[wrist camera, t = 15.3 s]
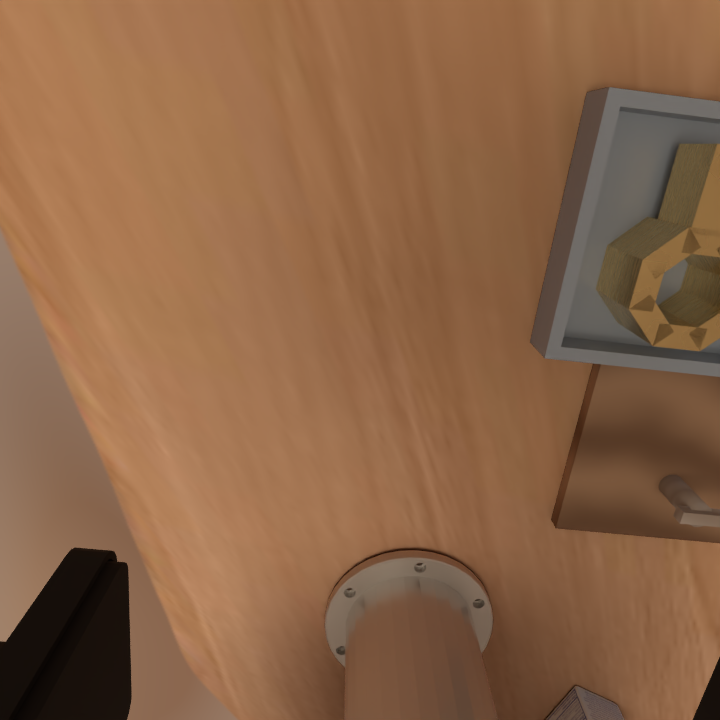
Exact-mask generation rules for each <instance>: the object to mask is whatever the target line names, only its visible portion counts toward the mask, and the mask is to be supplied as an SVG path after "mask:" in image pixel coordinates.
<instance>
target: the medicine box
mask: <svg viewBox="0 0 720 720" xmlns="http://www.w3.org/2000/svg"><path fill="white" fill-rule="evenodd" d="M546 720H624V718H623V716H622V713H621V711H620V709H619V707H618V706H617V705H616V704H614V703H613V702H611V701H609V700H607V699H605V698H603V697H601V696H599V695H597V694H594V693H592V692H590V691H588V690H586V689H583V688H581V687H579V686H575V687H574V688H573V689H572V690H571V691H570V692H569V694H568V695H567V696H566V697H565V698H564V699H563V700H562V702H561V703H560V704H559V705H558V706H557V707H556V708H555V710H554V711H553V712H552V713H551V714H550V715H549V716H548V718H547V719H546Z"/></svg>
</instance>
